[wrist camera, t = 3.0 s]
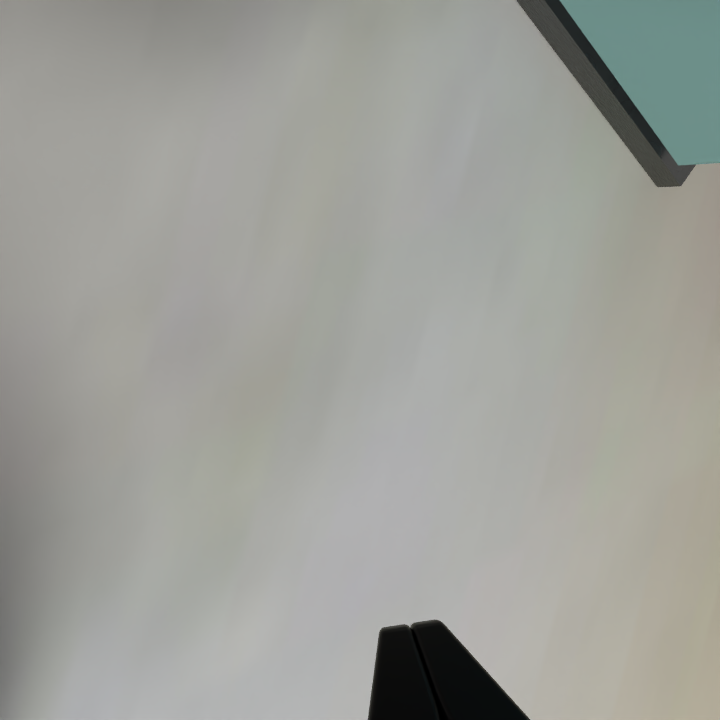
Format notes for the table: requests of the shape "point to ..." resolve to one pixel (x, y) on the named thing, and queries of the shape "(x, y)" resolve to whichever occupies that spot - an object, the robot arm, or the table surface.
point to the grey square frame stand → (605, 91)
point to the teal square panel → (663, 66)
